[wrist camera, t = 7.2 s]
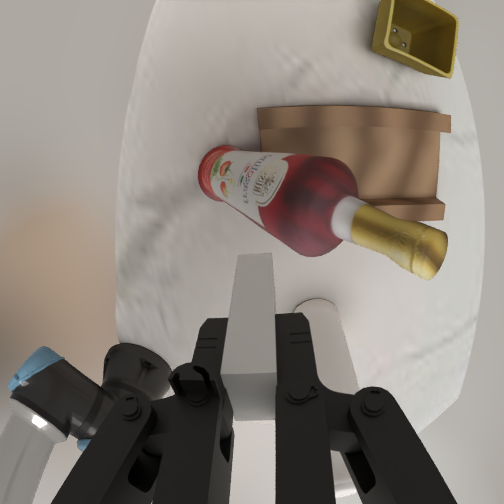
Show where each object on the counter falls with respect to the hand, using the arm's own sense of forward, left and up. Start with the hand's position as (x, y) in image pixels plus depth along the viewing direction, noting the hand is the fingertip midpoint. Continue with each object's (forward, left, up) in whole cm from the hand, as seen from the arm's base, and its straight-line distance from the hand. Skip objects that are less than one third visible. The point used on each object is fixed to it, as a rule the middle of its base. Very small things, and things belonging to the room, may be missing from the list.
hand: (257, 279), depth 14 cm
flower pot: (+19, +17, -26) cm, 36 cm away
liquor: (-5, 0, -24) cm, 25 cm away
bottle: (+7, -25, -26) cm, 37 cm away
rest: (+13, 0, -26) cm, 29 cm away
